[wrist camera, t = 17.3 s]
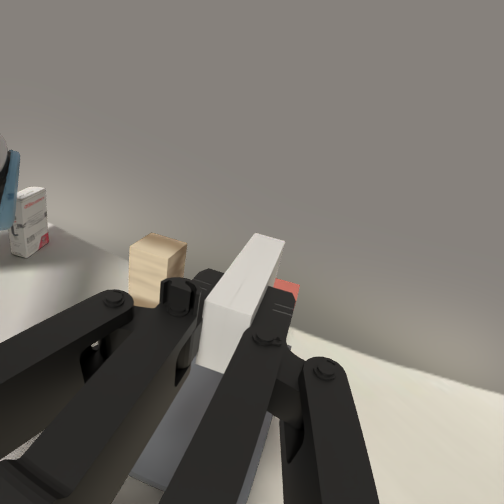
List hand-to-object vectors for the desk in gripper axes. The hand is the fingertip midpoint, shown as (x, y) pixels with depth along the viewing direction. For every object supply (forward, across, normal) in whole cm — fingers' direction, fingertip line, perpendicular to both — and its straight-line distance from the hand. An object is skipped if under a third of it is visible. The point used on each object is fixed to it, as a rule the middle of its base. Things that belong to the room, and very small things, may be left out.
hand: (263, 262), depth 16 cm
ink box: (+25, -49, -24) cm, 60 cm away
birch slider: (+16, -14, -22) cm, 30 cm away
